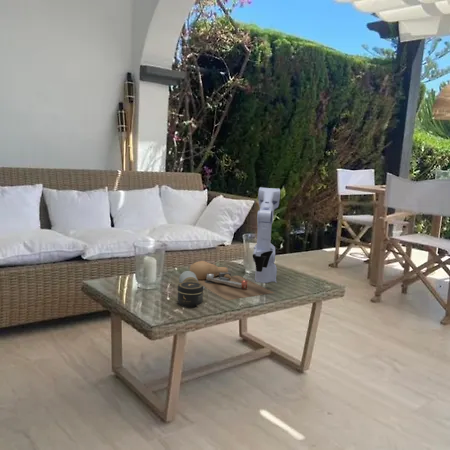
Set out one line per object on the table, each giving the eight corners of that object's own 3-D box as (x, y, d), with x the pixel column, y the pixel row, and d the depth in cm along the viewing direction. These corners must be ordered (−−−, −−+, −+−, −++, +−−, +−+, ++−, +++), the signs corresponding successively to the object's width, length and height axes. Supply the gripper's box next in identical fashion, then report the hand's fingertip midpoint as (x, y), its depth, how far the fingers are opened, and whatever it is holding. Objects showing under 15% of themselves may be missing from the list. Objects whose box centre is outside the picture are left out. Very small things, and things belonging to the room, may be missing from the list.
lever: (204, 280, 218) (205, 274, 217) (210, 278, 222) (210, 271, 221) (245, 289, 208) (245, 282, 208) (250, 286, 213) (250, 279, 212)
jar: (172, 305, 189) (173, 286, 188) (183, 297, 199) (184, 279, 197) (196, 309, 186) (197, 290, 185) (206, 301, 195) (207, 283, 194)
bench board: (238, 277, 231) (238, 269, 231) (274, 295, 208) (275, 286, 207) (193, 283, 219) (193, 274, 218) (226, 302, 195) (227, 293, 195)
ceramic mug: (181, 293, 203) (182, 276, 202) (178, 287, 211) (179, 270, 210) (206, 293, 206) (207, 275, 205) (202, 287, 214) (203, 270, 213)
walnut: (228, 279, 223) (228, 272, 223) (231, 281, 221) (232, 274, 220) (222, 280, 222) (222, 273, 221) (225, 282, 219) (226, 275, 218)
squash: (184, 279, 225) (185, 259, 225) (217, 278, 238) (218, 260, 238) (198, 281, 216) (199, 261, 217) (232, 280, 230) (233, 261, 230)
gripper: (259, 234, 214) (257, 264, 216) (249, 239, 201) (247, 271, 203) (275, 235, 212) (273, 266, 214) (265, 241, 198) (263, 274, 201)
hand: (261, 269), depth 208 cm, fingers open, 7 cm apart
